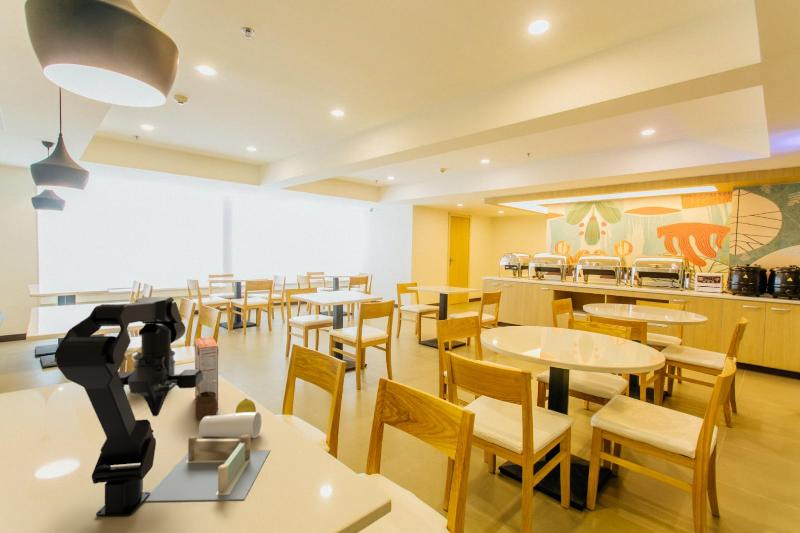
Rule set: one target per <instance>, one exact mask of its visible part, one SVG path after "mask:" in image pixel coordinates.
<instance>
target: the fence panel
mask: <svg viewBox="0 0 800 533" xmlns="http://www.w3.org/2000/svg"><path fill="white" fill-rule="evenodd" d="M244 462H245V443H240V444H239V445H238V446H237V447H236V449H235V450H234V451H233V453H232V454H231V455H230V457H229V458H228V459H227V461H226V462H225V463H224V465H220V466H219V467H218V492H220V493H222V492H225V491H226V490H227V487H228V485H229V484H230V482H231V481H232V480H233V478H234V477H235V475H236V474H237V472H238V471H239V469H240V468H241V466H242V465H243V463H244Z"/></svg>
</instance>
